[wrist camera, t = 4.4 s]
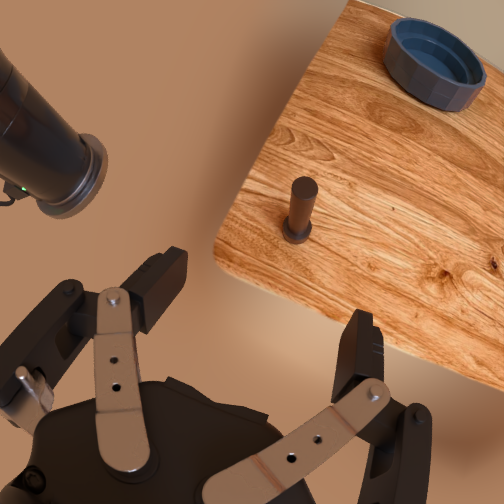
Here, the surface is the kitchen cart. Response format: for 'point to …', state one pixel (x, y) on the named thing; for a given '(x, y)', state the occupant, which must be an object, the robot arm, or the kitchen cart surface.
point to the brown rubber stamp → (300, 210)
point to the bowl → (433, 64)
